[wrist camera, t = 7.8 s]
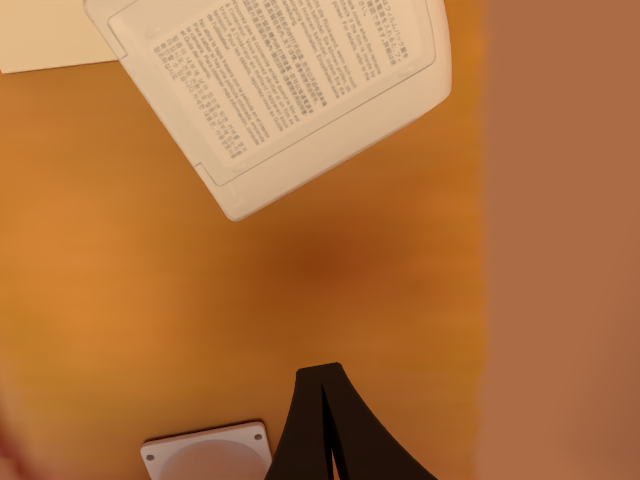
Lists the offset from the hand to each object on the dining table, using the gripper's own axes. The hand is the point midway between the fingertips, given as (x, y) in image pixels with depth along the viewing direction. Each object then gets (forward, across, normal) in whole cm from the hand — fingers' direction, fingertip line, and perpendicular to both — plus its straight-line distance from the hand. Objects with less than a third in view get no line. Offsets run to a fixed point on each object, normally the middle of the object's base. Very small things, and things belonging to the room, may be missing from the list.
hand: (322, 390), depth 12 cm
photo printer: (+8, +5, -8) cm, 12 cm away
